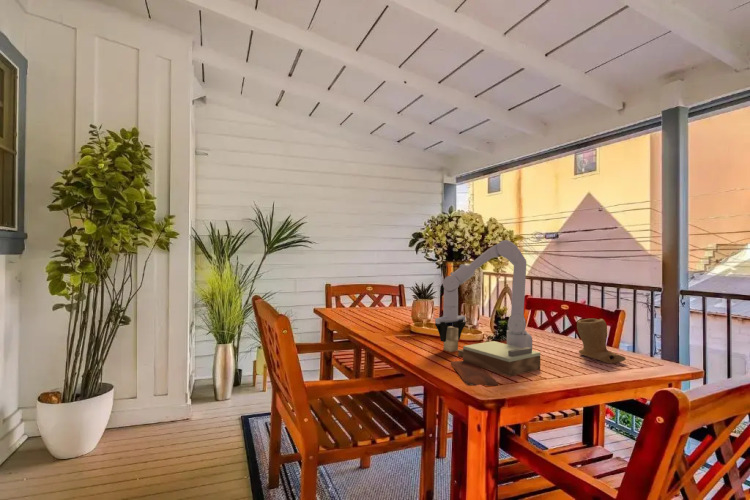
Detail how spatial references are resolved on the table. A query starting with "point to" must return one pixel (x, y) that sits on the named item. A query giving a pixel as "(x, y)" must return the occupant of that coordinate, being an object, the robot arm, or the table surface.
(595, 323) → the brown suede boot
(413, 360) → the table surface
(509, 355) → the lid
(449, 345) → the beige tall block
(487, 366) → the shallow rectangular box
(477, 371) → the wooden tablet
